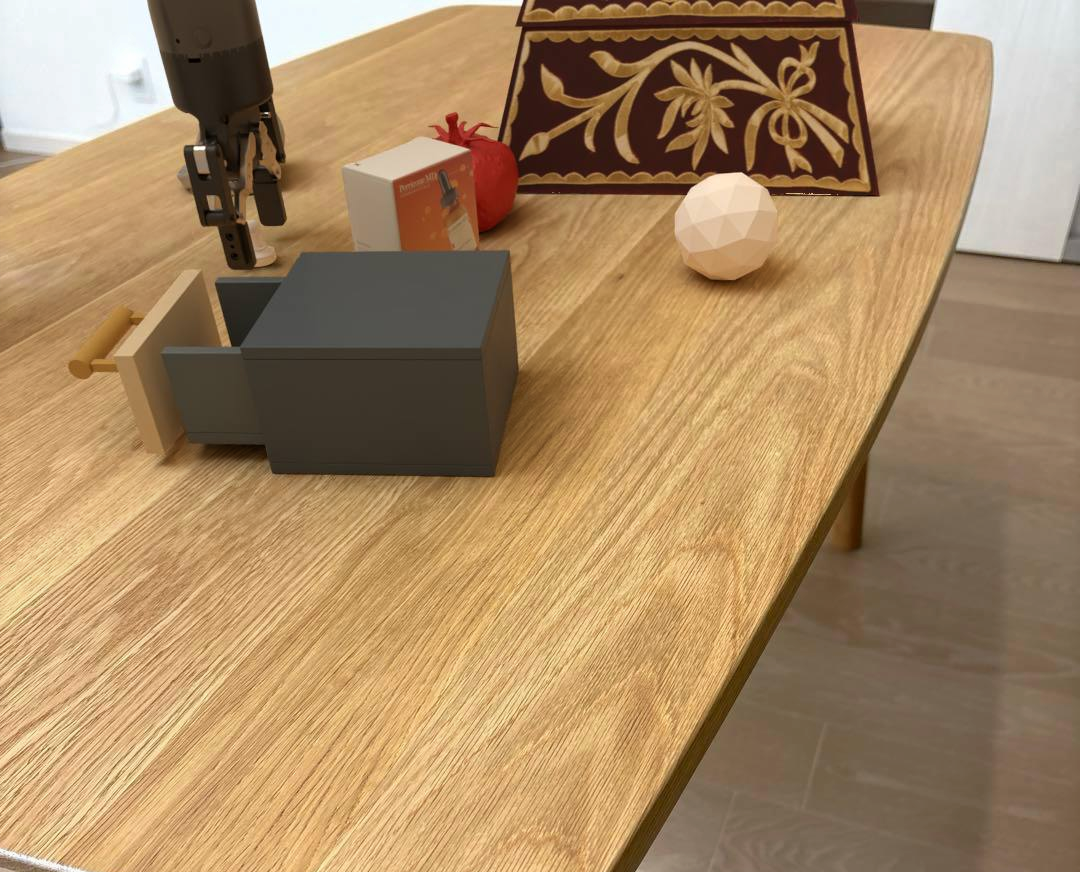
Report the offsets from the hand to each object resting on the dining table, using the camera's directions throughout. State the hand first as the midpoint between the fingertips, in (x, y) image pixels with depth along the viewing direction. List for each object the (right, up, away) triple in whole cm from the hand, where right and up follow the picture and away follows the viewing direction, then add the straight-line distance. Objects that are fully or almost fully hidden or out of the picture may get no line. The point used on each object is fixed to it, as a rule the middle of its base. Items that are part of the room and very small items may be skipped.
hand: (259, 245), depth 88 cm
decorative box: (+37, +12, +15) cm, 42 cm away
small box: (+14, -5, -5) cm, 16 cm away
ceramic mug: (-6, +10, +16) cm, 20 cm away
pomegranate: (+17, +3, +5) cm, 18 cm away
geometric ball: (+37, -4, -6) cm, 38 cm away
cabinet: (+14, -17, -20) cm, 29 cm away
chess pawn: (0, -1, +1) cm, 2 cm away
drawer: (+4, -16, -19) cm, 25 cm away
